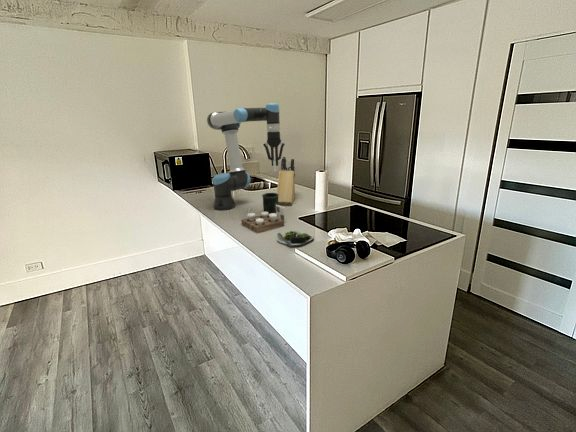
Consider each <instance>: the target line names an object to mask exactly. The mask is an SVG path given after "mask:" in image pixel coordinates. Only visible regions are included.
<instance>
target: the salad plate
mask: <svg viewBox="0 0 576 432" xmlns="http://www.w3.org/2000/svg"><path fill="white" fill-rule="evenodd" d="M276 236H278V237H277V238H276V240H277V242H279V243H280V244H283V245H285V246H288V247H291V248H301V247H304V246H306V245H308V244H310V243H312V241H314V236H313V235H312V234H309V233H307V232H306V233H305V232H302V231H297V230H293V231H292V230H290V231H287V232H286V231H285V232H284V234H282V233H281V232H278V233H277V235H276ZM303 245H304V246H303ZM300 246H301V247H300Z"/></svg>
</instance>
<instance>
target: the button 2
mask: <svg viewBox="0 0 576 432" xmlns="http://www.w3.org/2000/svg"><path fill="white" fill-rule="evenodd" d="M256 223H257V226H261V225H263V224H262V223H264V220H263V218H258V219H256Z"/></svg>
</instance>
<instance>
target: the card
mask: <svg viewBox="0 0 576 432" xmlns="http://www.w3.org/2000/svg"><path fill="white" fill-rule="evenodd" d="M276 214H277V218H278V219H281V220H283V221H284V223H286V220H287V219H286V217H287V216H286V207H284V206H281V205H276Z"/></svg>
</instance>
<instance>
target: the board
mask: <svg viewBox="0 0 576 432" xmlns="http://www.w3.org/2000/svg"><path fill="white" fill-rule="evenodd" d="M258 218H262V216H261V214H260V215H257V216H256V215H255V217H254V221H253V222H249V218H248V217H247V218H243V219H241V225H242V226H243V227H245V228H247V229H249V230H251V231H252V232H254V233H256V234H259V233H263V232H266V231H270V230H275V229H277V228H280V227H281V228H282V227H284V226H285V222H284V221H283V220H281V219H278V218H276V222H271V219H270V218H269V214H268V216H267V218H265V219H263V220H264V223H262V224H263V225H261V226H257V223H256V219H258Z"/></svg>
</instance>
